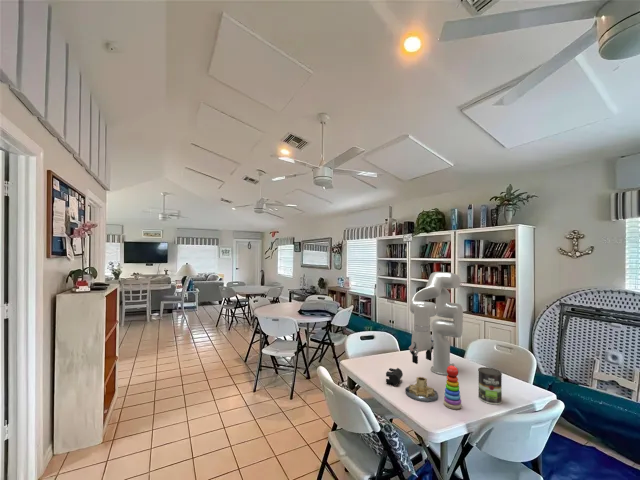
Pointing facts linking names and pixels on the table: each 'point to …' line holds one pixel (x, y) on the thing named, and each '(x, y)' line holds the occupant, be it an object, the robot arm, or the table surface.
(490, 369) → the coffee can
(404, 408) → the table surface
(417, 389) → the tan faceted octagonal piece
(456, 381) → the stacking toy
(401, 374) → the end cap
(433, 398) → the plate
